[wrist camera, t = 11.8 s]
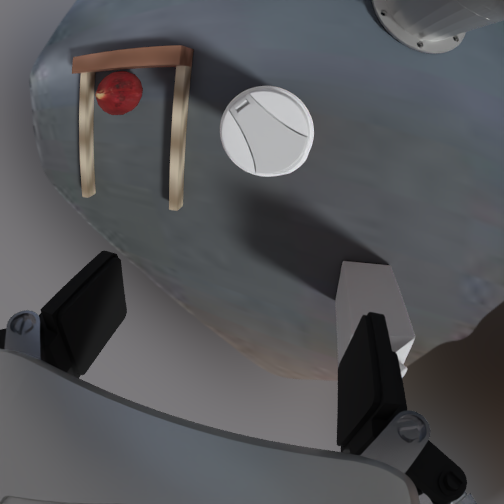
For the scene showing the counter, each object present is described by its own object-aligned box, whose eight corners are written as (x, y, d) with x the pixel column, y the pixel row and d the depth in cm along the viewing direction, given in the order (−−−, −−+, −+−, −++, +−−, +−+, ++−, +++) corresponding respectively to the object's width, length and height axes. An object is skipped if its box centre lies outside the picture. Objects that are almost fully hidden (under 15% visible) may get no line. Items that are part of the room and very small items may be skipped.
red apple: (146, 64, 34) (111, 62, 27) (158, 102, 36) (125, 106, 29) (112, 82, 36) (76, 84, 29) (123, 118, 38) (88, 126, 31)
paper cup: (236, 115, 36) (196, 125, 23) (286, 77, 32) (272, 65, 20) (275, 164, 38) (256, 199, 26) (326, 129, 35) (335, 146, 22)
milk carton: (334, 301, 45) (338, 406, 29) (342, 259, 42) (354, 363, 26) (379, 304, 44) (400, 407, 28) (390, 264, 41) (424, 365, 25)
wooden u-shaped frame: (90, 57, 34) (73, 57, 30) (193, 49, 32) (181, 45, 29) (89, 192, 44) (74, 201, 41) (182, 205, 43) (171, 216, 39)
